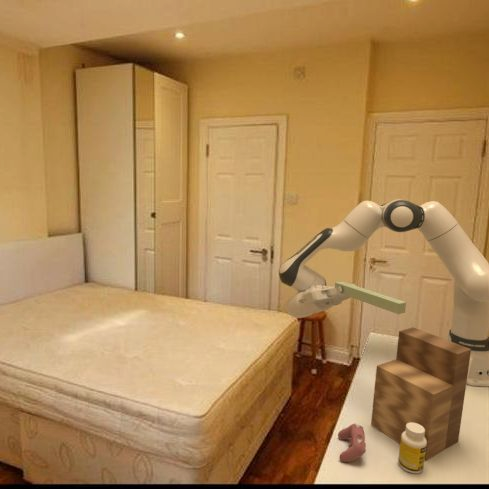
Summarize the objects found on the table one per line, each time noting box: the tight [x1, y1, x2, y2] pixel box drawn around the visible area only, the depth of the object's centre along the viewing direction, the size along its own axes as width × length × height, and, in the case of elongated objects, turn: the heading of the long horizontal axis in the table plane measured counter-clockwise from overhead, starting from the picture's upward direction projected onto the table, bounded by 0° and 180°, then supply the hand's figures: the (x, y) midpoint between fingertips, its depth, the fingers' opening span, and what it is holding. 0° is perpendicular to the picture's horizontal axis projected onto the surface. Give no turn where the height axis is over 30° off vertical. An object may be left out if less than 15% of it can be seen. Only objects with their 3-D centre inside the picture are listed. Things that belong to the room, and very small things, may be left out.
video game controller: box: [337, 423, 367, 463], centre depth 96 cm, size 10×5×7 cm, turn 169°
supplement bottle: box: [397, 422, 427, 474], centre depth 91 cm, size 5×5×10 cm
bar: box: [334, 280, 407, 315], centre depth 119 cm, size 24×3×3 cm, turn 33°
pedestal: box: [370, 327, 471, 462], centre depth 102 cm, size 16×14×25 cm
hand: (346, 287), depth 126 cm, fingers closed on bar, 3 cm apart
